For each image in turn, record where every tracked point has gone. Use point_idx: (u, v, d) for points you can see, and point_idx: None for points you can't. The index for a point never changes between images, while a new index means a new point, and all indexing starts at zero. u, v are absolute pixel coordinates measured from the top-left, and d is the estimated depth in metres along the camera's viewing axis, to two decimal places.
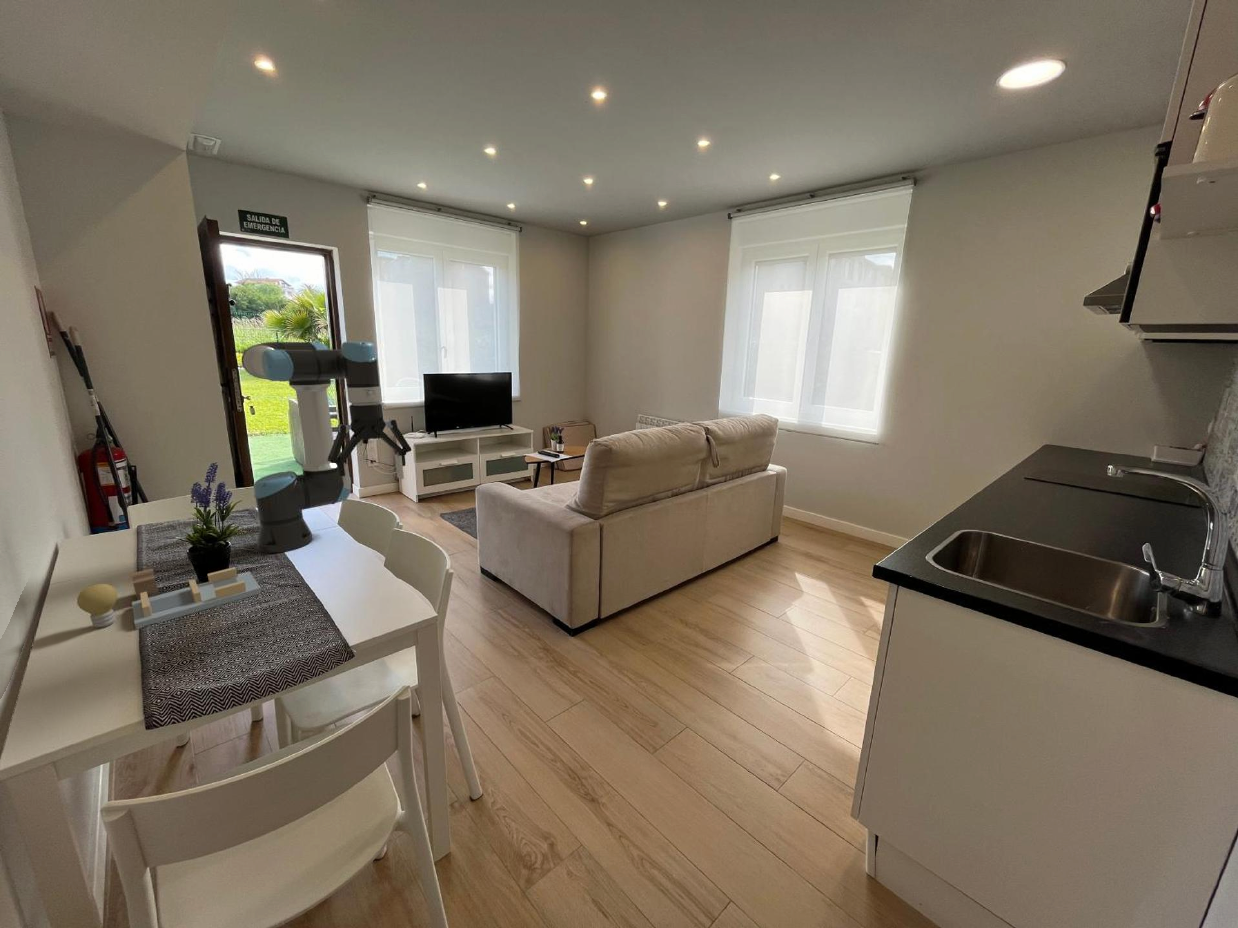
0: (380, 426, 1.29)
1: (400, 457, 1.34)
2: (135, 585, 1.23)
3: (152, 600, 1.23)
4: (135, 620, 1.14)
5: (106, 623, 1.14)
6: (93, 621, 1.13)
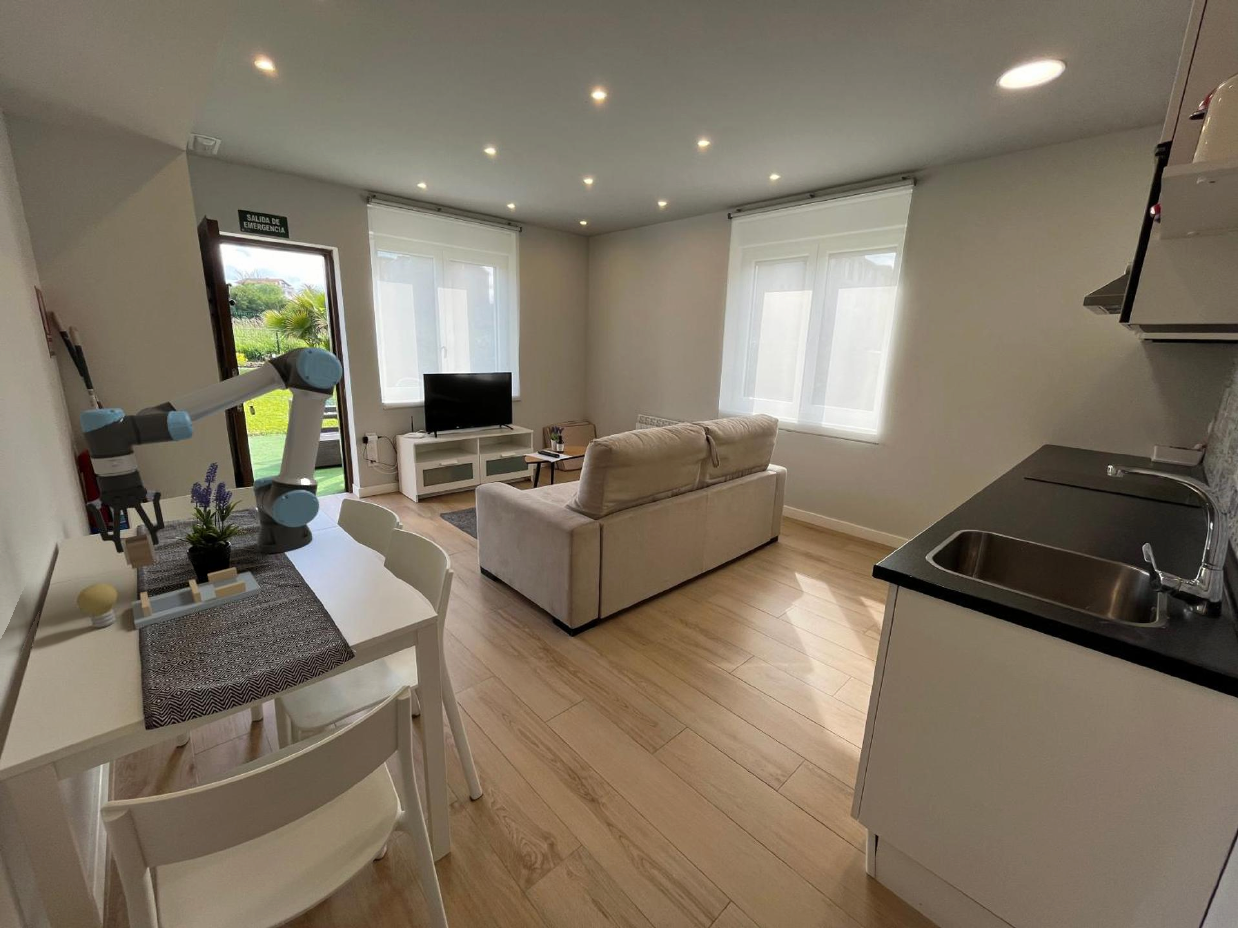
0: (138, 493, 1.23)
1: (149, 536, 1.25)
2: (128, 549, 1.21)
3: (152, 600, 1.23)
4: (135, 620, 1.14)
5: (106, 623, 1.14)
6: (93, 621, 1.13)
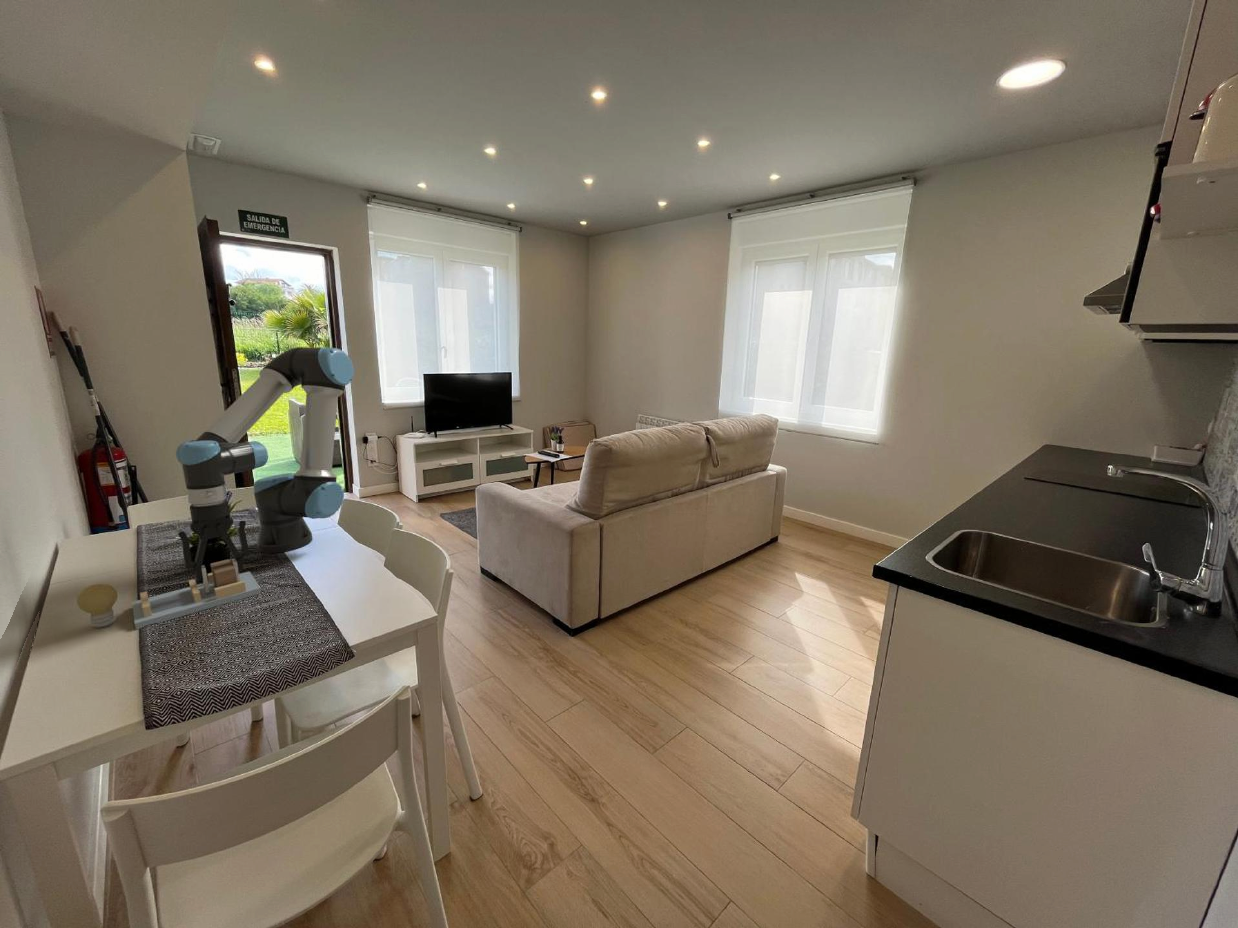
0: (225, 523, 1.27)
1: (235, 563, 1.29)
2: (217, 575, 1.25)
3: (152, 600, 1.23)
4: (135, 620, 1.14)
5: (106, 623, 1.14)
6: (93, 621, 1.13)
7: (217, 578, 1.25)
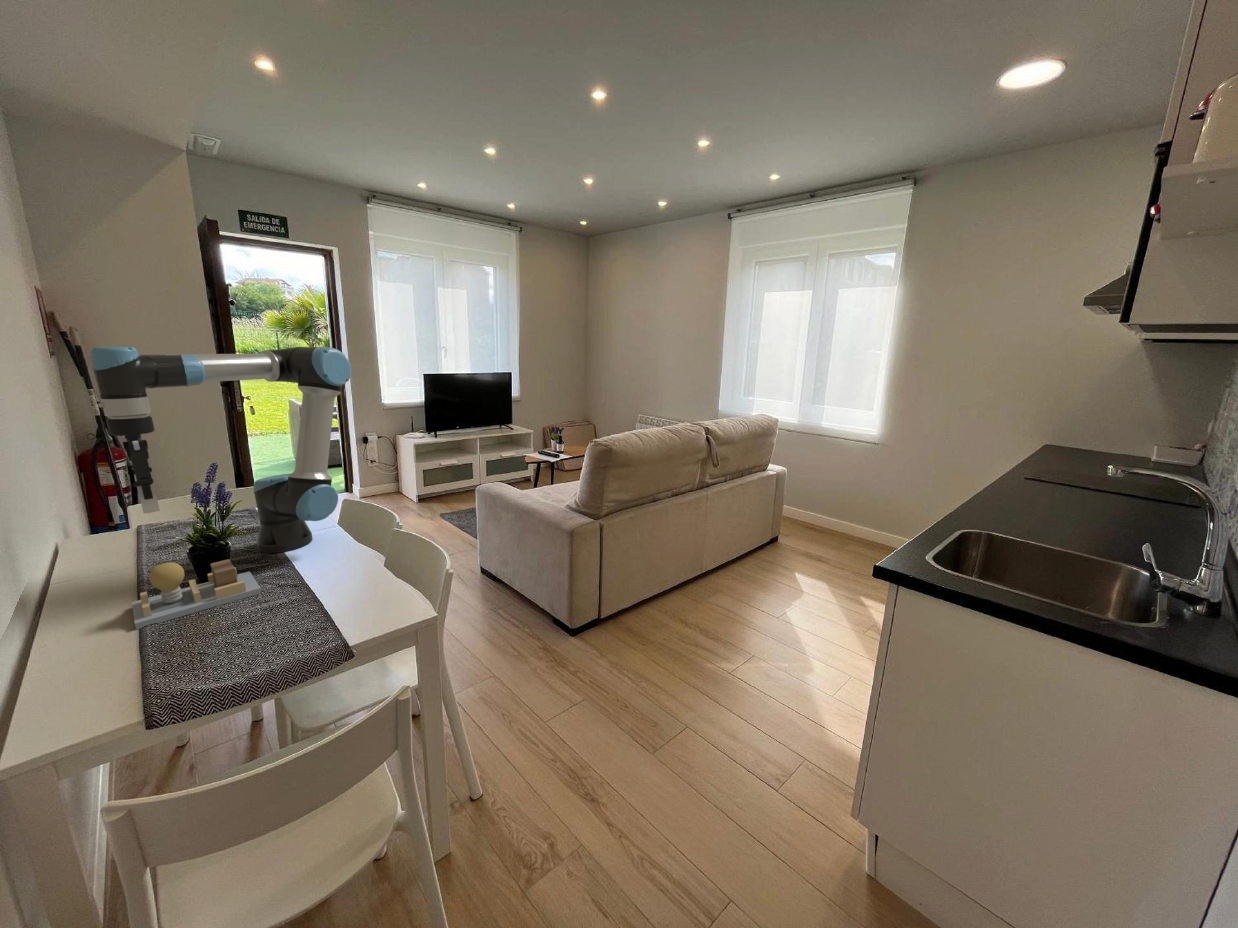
0: (128, 445, 1.10)
1: (137, 487, 1.09)
2: (217, 575, 1.25)
3: (152, 600, 1.23)
4: (135, 620, 1.14)
5: (175, 599, 1.21)
6: (163, 597, 1.20)
7: (217, 578, 1.25)
